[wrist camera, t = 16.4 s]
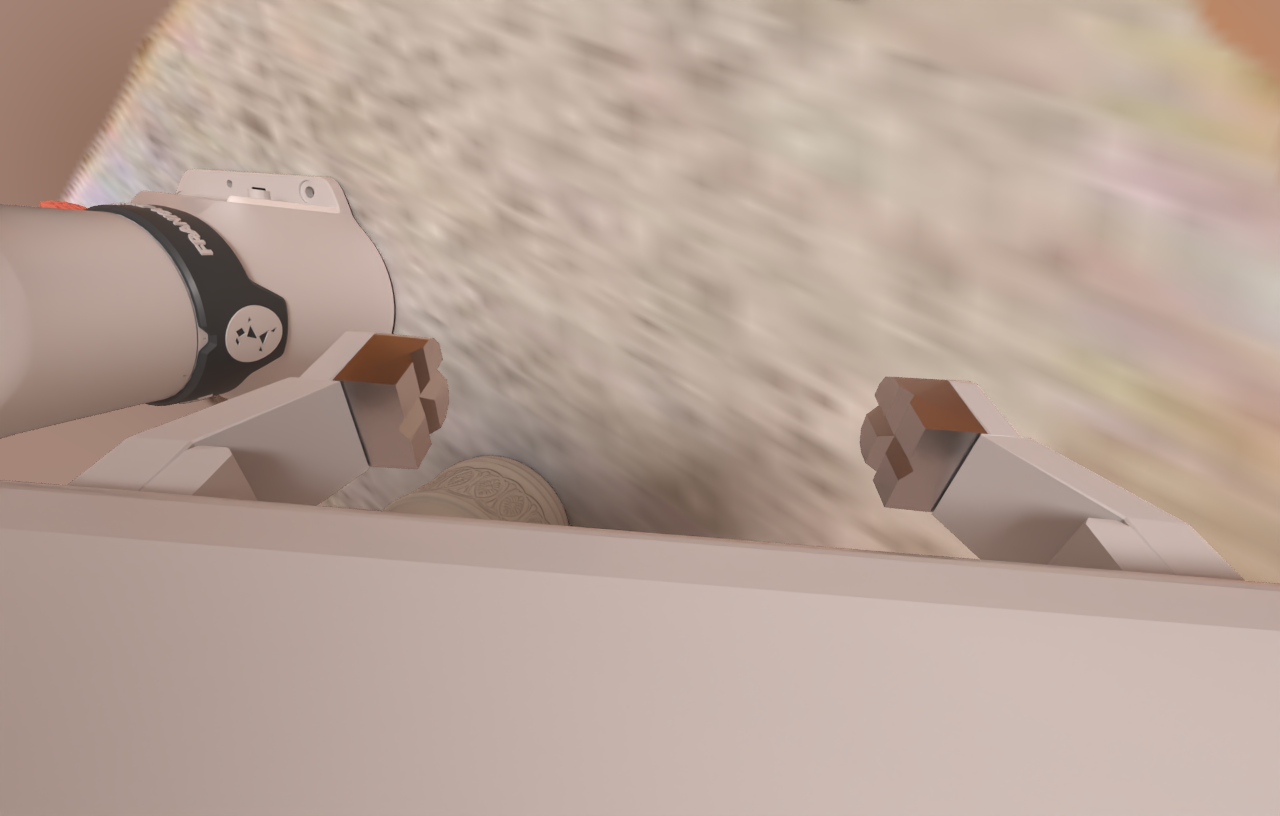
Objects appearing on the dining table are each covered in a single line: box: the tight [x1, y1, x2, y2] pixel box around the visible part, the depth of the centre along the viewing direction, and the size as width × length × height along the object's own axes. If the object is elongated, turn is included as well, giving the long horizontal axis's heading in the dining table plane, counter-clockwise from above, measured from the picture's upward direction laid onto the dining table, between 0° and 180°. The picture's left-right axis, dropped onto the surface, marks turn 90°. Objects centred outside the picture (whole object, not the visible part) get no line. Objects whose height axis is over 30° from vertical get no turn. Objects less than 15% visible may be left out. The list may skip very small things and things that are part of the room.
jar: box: [383, 456, 569, 526], centre depth 37 cm, size 13×13×18 cm
